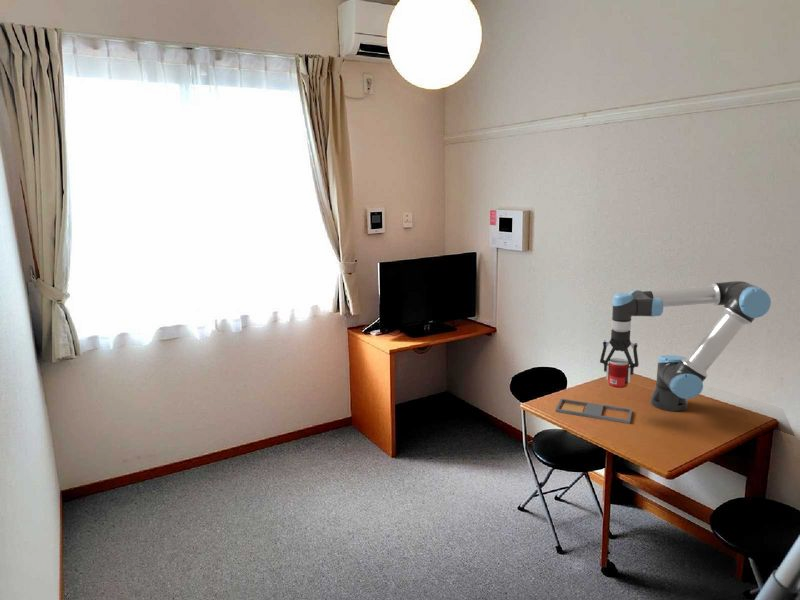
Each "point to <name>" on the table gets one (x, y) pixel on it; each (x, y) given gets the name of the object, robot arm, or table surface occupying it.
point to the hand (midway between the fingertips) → (618, 379)
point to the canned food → (618, 372)
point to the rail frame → (590, 410)
